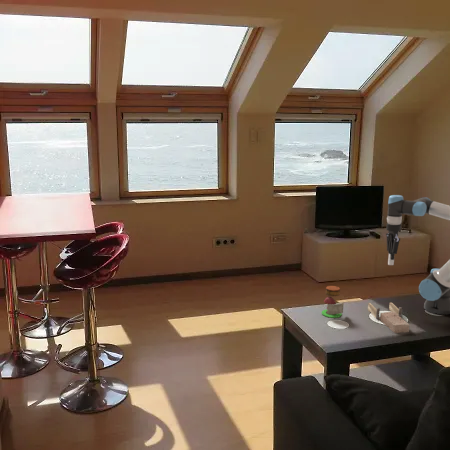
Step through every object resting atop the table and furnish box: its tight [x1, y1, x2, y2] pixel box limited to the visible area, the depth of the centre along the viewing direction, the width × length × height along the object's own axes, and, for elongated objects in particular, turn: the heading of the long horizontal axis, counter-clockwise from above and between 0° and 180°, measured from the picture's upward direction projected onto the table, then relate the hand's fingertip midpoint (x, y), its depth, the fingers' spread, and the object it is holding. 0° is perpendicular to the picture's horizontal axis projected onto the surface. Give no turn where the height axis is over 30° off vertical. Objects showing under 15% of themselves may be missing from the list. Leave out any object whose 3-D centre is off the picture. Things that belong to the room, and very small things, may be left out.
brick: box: [379, 311, 410, 334], centre depth 254 cm, size 17×8×5 cm, turn 9°
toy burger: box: [321, 285, 345, 319], centre depth 267 cm, size 12×13×15 cm
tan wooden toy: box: [367, 302, 403, 320], centre depth 268 cm, size 14×13×6 cm
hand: (390, 264), depth 276 cm, fingers closed
